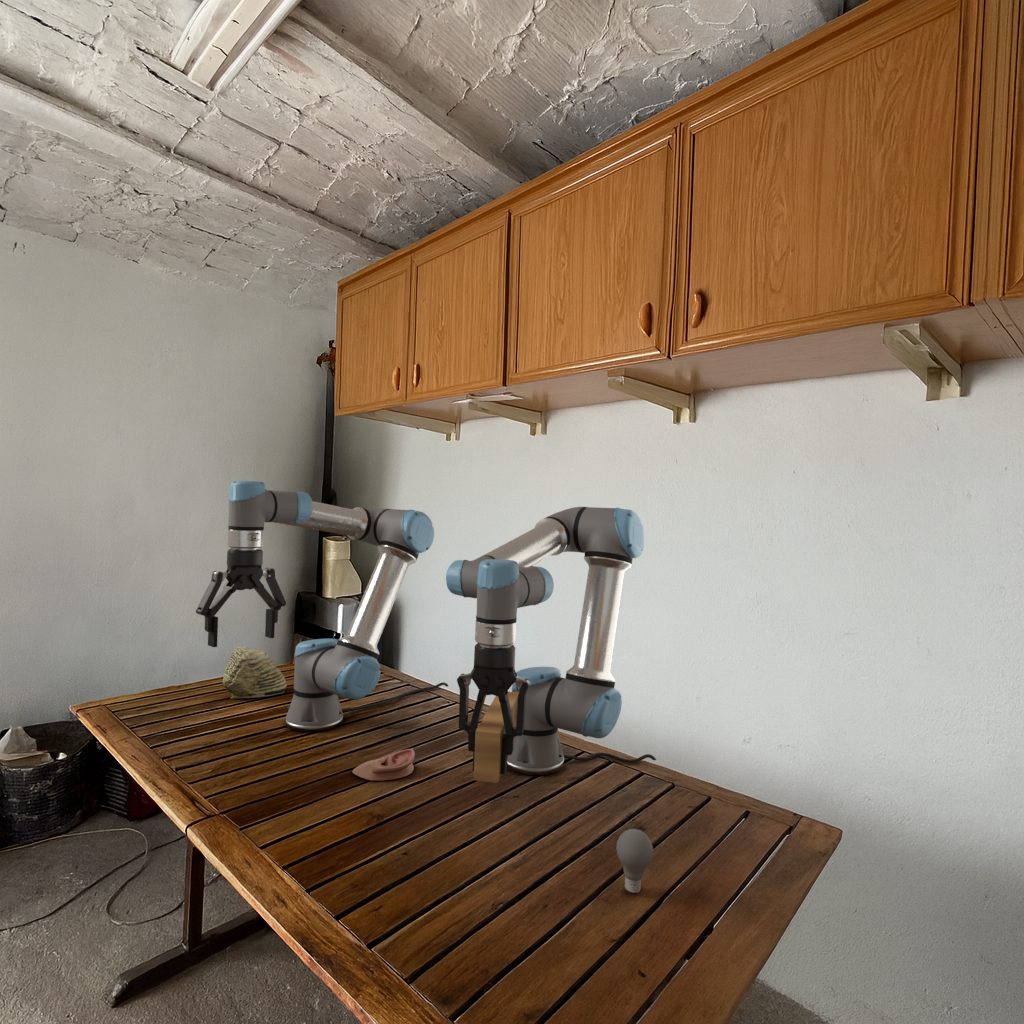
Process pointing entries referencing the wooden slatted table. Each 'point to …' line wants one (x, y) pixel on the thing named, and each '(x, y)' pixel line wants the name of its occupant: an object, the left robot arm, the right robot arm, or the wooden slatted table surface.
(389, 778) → the anatomical model
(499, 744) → the bar
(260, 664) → the fossil
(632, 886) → the light bulb
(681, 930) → the wooden slatted table surface
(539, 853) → the wooden slatted table surface
